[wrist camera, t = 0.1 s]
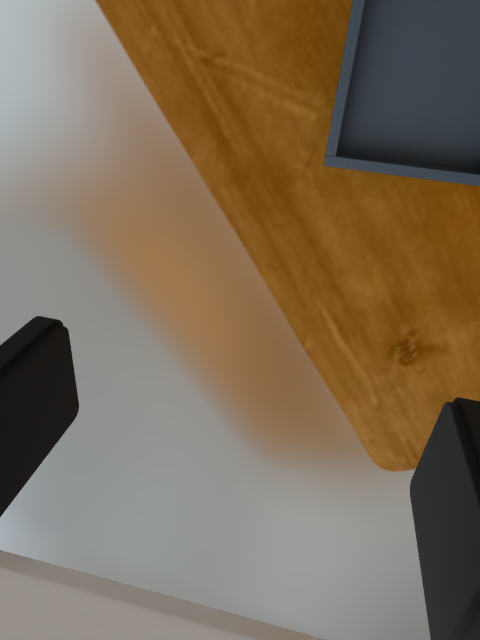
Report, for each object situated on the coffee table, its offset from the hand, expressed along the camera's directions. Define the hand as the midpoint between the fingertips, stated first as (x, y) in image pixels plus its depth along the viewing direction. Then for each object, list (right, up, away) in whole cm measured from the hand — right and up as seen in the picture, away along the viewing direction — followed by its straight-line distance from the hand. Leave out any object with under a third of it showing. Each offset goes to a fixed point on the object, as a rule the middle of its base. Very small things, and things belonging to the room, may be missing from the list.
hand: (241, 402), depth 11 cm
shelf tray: (+14, +22, +21) cm, 33 cm away
